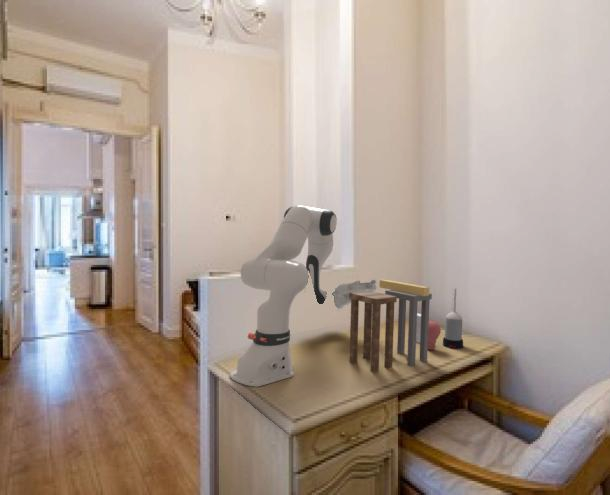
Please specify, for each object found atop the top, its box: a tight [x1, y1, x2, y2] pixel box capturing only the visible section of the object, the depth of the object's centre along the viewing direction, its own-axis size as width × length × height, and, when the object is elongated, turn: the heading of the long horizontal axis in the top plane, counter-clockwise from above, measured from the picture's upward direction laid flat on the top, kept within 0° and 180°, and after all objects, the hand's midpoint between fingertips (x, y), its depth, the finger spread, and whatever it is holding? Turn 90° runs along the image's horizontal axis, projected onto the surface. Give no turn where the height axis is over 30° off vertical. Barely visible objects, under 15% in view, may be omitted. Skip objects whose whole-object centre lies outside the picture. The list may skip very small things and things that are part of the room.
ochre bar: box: [378, 279, 430, 296], centre depth 150 cm, size 22×3×3 cm, turn 35°
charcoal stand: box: [384, 289, 433, 367], centre depth 149 cm, size 14×10×26 cm
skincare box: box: [416, 312, 421, 344], centre depth 173 cm, size 6×4×12 cm
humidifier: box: [442, 288, 464, 350], centre depth 167 cm, size 8×8×25 cm
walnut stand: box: [349, 291, 398, 374], centre depth 142 cm, size 14×10×26 cm
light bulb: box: [428, 320, 442, 351], centre depth 161 cm, size 7×7×12 cm
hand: (367, 281), depth 166 cm, fingers open, 8 cm apart
